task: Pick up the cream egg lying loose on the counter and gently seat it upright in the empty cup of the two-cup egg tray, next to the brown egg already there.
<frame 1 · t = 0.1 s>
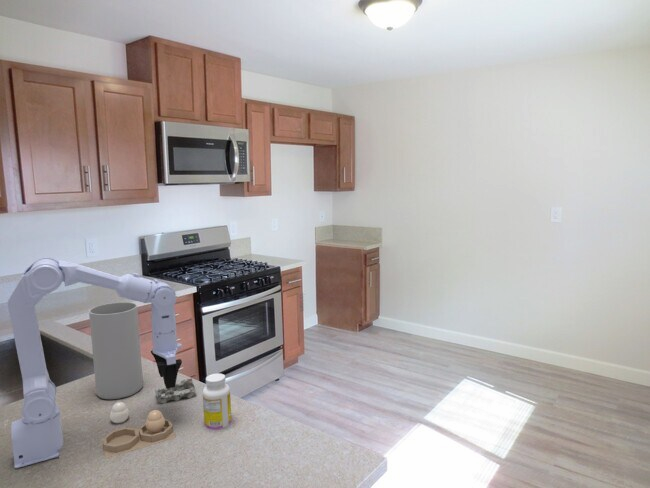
hand: (167, 381, 113), 10 cm above the worktop, tool pointing down, fingers open, 7 cm apart
cream egg: (120, 423, 112), on the worktop
egg carton: (176, 400, 124), on the worktop
cylinder vase: (120, 390, 130), on the worktop
egg tray: (139, 441, 104), on the worktop
supplement bottle: (218, 426, 110), on the worktop
brown egg: (156, 432, 105), point 1 cm above the worktop, touching egg tray
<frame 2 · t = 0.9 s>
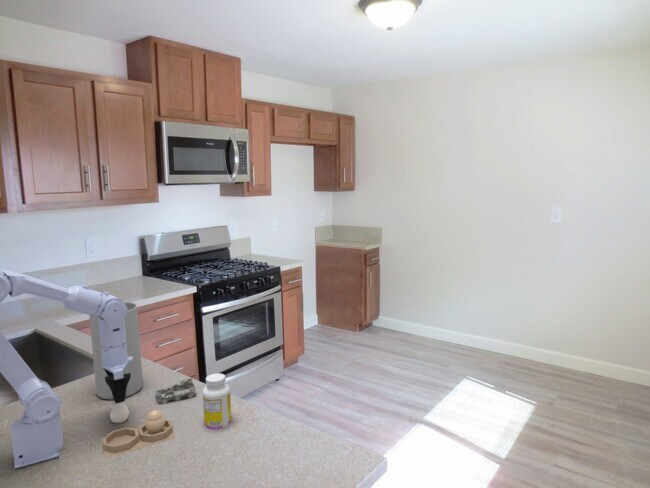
hand: (118, 395, 111), 8 cm above the worktop, tool pointing down, fingers open, 7 cm apart
nothing on the worktop moved.
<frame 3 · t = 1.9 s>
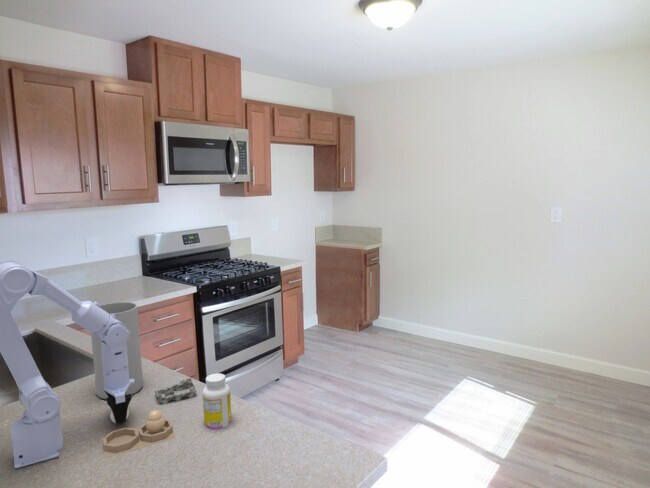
hand: (119, 417, 111), 2 cm above the worktop, tool pointing down, fingers closed on cream egg, 4 cm apart
cream egg: (120, 423, 112), on the worktop, touching gripper
everything else where it was.
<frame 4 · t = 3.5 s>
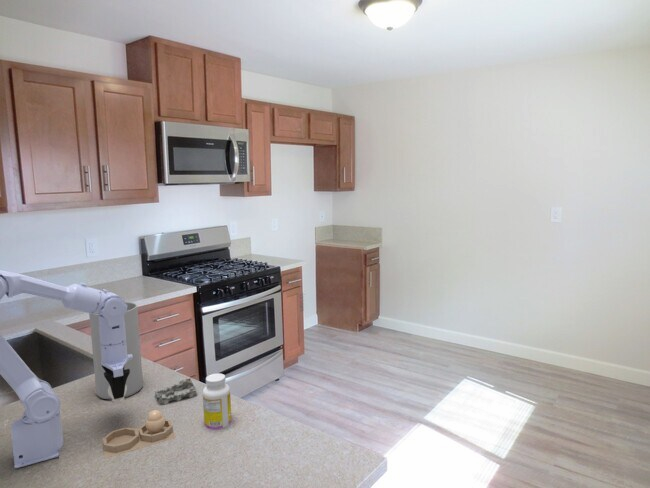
hand: (117, 393, 110), 8 cm above the worktop, tool pointing down, fingers closed on cream egg, 4 cm apart
cream egg: (118, 399, 110), point 7 cm above the worktop, touching gripper
everything else where it was.
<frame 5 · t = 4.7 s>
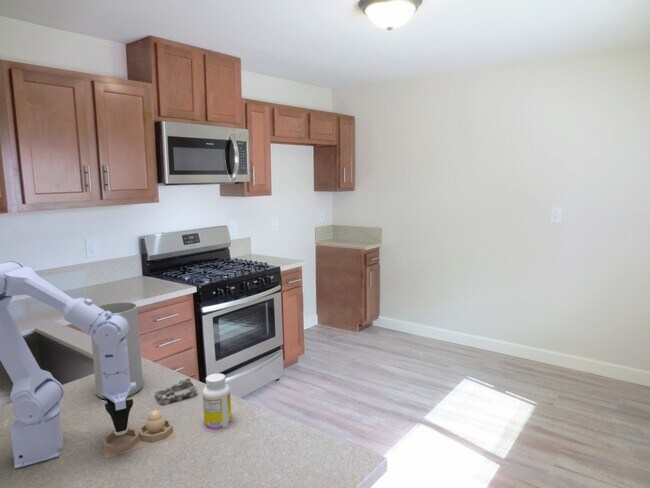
hand: (120, 425, 101), 5 cm above the worktop, tool pointing down, fingers closed on cream egg, 4 cm apart
cream egg: (121, 431, 101), point 4 cm above the worktop, touching gripper
everything else where it was.
when the fingers open (4 cm above the worktop, at t = 5.4 s): cream egg drops 1 cm, resting on egg tray.
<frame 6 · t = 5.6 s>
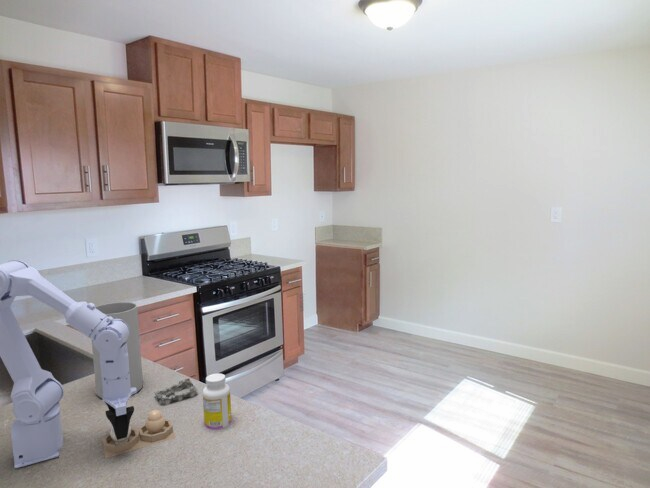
hand: (120, 430, 101), 4 cm above the worktop, tool pointing down, fingers open, 6 cm apart
cream egg: (121, 442, 102), point 1 cm above the worktop, touching egg tray
everything else where it was.
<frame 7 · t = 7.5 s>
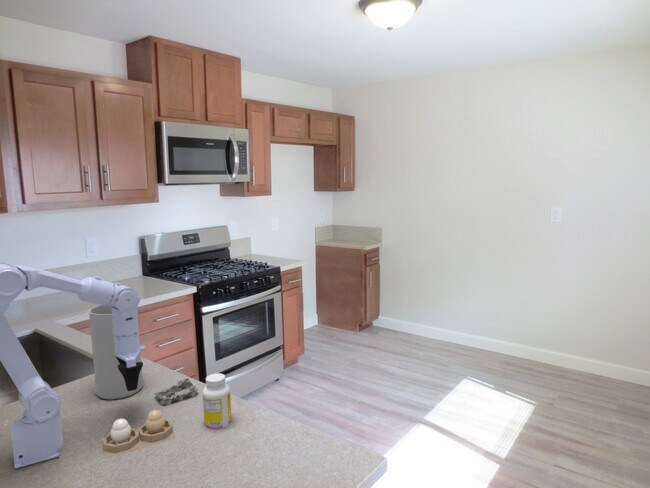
hand: (130, 383, 113), 9 cm above the worktop, tool pointing down, fingers open, 7 cm apart
nothing on the worktop moved.
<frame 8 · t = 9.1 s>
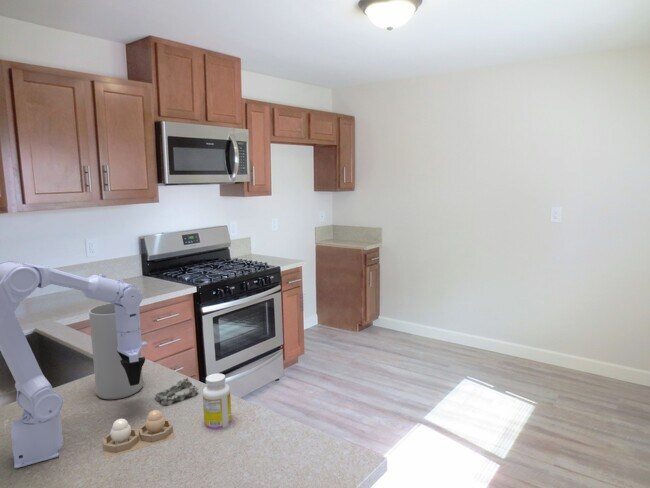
hand: (132, 378, 116), 9 cm above the worktop, tool pointing down, fingers open, 7 cm apart
at the end: cream egg 0.1 cm from the target spot on the egg tray, point 1.0 cm above the egg tray's base; cream egg tilted 1°; the gripper is holding nothing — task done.
